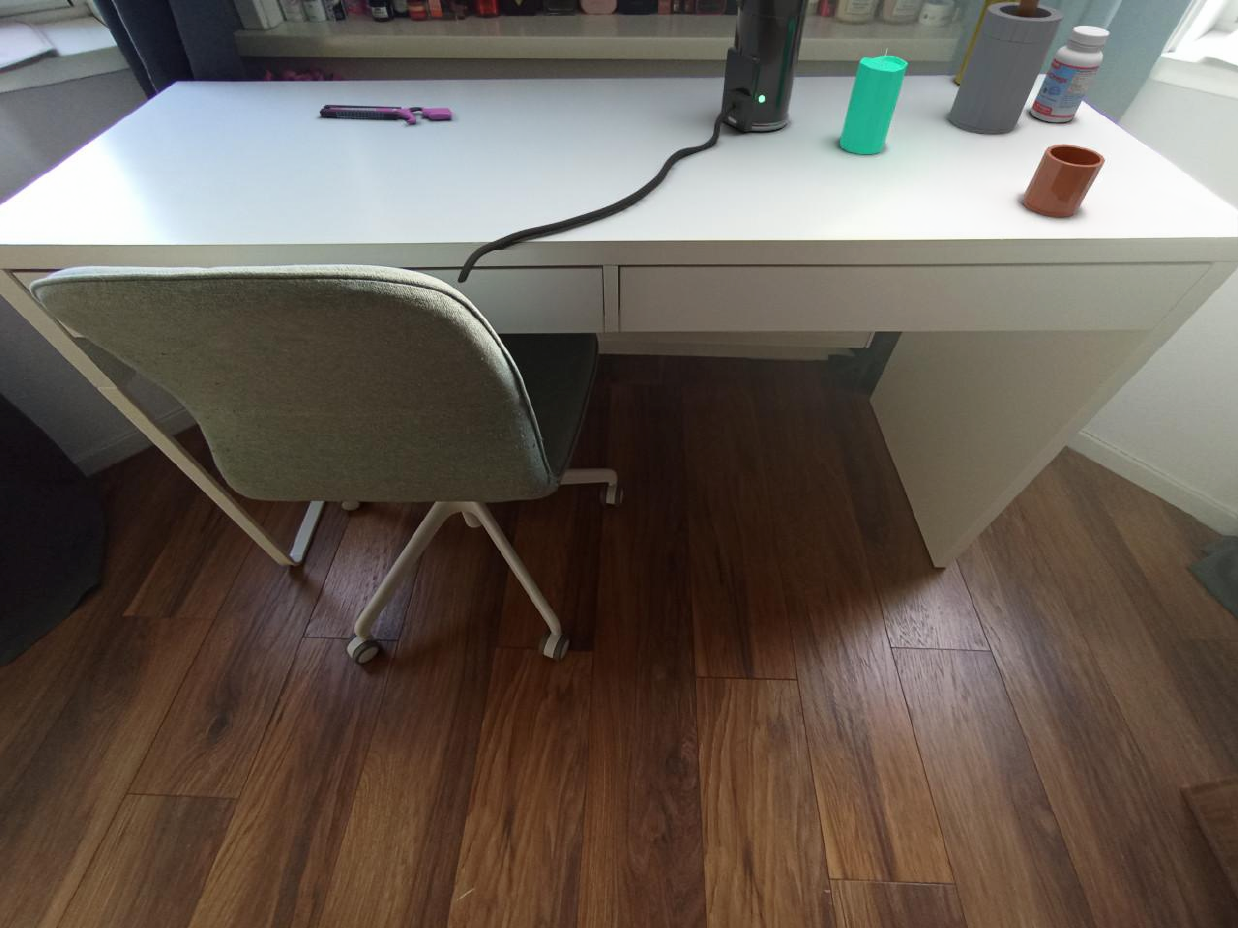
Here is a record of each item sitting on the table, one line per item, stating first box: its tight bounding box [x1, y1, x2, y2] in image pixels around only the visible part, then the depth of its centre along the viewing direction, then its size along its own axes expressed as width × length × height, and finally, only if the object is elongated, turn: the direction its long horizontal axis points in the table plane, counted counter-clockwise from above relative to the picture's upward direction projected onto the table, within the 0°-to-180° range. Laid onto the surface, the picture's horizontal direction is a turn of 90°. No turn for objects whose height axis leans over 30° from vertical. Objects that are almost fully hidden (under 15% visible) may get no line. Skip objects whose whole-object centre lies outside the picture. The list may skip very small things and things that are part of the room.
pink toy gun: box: [319, 104, 453, 124], centre depth 97 cm, size 21×1×5 cm
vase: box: [954, 0, 1021, 86], centre depth 102 cm, size 6×6×14 cm
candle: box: [839, 47, 909, 155], centre depth 86 cm, size 6×6×12 cm
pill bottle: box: [1030, 25, 1110, 123], centre depth 93 cm, size 6×6×11 cm
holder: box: [1021, 143, 1106, 218], centre depth 76 cm, size 6×6×6 cm
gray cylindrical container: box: [948, 2, 1065, 135], centre depth 91 cm, size 9×9×14 cm
